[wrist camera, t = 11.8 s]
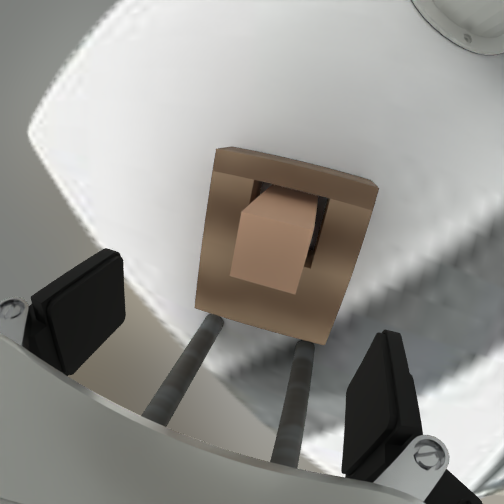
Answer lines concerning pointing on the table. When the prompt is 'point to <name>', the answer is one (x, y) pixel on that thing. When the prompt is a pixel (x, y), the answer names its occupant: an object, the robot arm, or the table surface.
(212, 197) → the socket block
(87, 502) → the robot arm
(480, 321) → the table surface
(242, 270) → the peg
